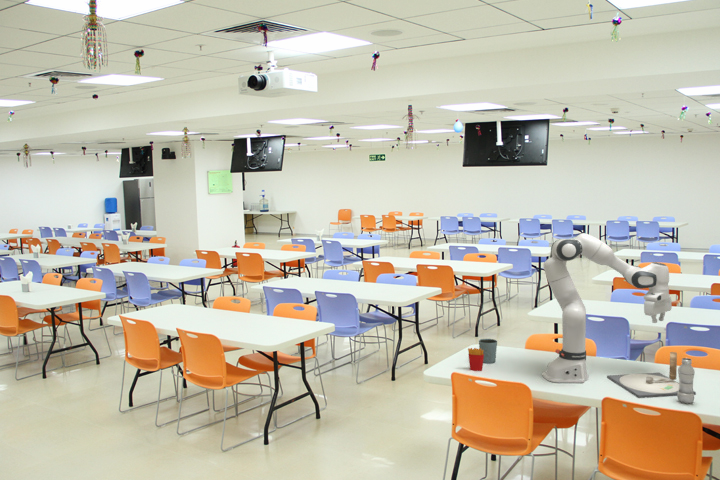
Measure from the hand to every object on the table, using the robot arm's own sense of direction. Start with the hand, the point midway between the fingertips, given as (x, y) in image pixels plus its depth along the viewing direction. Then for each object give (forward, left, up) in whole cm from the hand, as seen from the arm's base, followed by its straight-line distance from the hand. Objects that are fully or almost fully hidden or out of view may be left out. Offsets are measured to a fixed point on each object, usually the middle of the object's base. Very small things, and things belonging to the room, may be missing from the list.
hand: (657, 321), depth 286 cm
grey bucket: (-75, +40, -29) cm, 90 cm away
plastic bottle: (-7, -32, -29) cm, 44 cm away
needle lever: (-4, -10, -27) cm, 29 cm away
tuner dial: (-10, -10, -29) cm, 32 cm away
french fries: (-86, +27, -29) cm, 95 cm away
